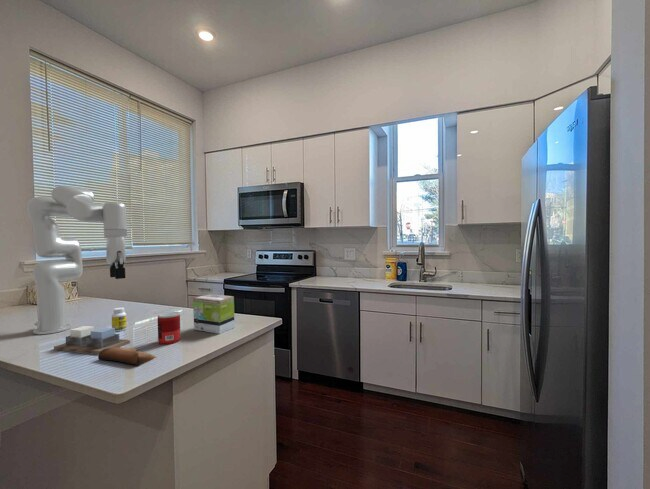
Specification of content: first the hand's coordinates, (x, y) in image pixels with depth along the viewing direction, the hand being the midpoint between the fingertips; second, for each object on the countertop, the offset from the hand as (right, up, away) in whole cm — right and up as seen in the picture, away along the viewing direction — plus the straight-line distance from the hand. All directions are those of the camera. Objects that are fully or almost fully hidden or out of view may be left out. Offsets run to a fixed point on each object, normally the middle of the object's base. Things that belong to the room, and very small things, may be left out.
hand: (117, 277), depth 119 cm
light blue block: (-2, -23, -5) cm, 23 cm away
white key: (-12, -23, -2) cm, 26 cm away
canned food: (+20, -26, +1) cm, 32 cm away
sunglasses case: (+15, -27, -16) cm, 34 cm away
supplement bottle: (-11, -26, +17) cm, 33 cm away
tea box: (+32, -25, +16) cm, 44 cm away
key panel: (-7, -26, -4) cm, 27 cm away
